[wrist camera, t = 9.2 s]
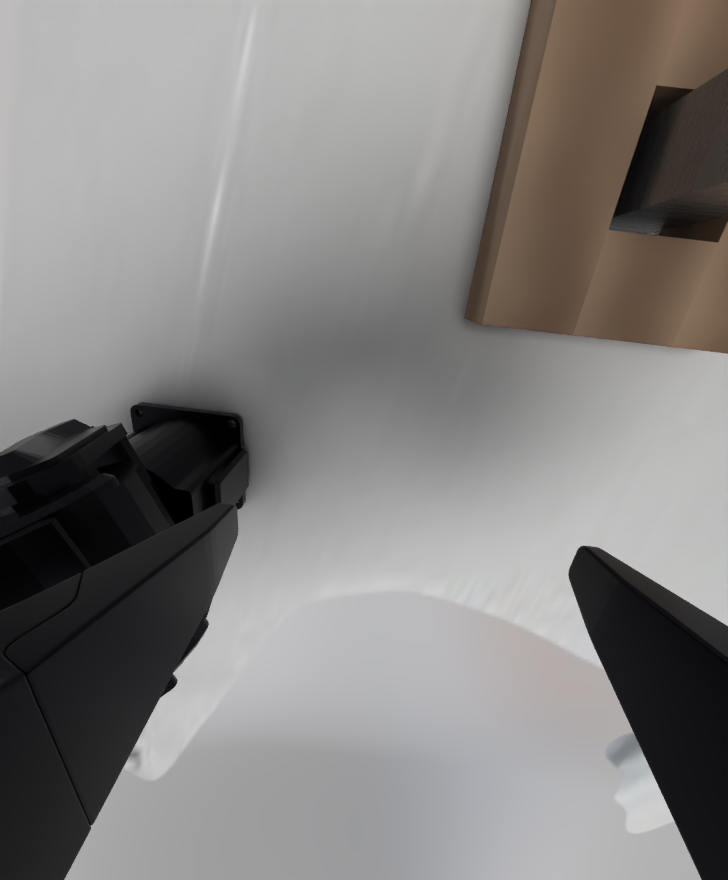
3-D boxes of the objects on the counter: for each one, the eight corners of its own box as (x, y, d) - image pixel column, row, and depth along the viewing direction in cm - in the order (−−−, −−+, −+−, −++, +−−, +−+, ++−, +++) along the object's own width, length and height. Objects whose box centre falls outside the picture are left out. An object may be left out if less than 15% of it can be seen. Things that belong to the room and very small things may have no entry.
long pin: (581, 226, 16) (832, 149, 7) (604, 147, 15) (941, -69, 6) (645, 233, 16) (980, 163, 7) (674, 153, 15) (1121, -54, 6)
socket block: (464, 318, 18) (481, 324, 15) (534, -12, 13) (581, -107, 10) (696, 345, 18) (763, 357, 15) (849, 23, 13) (996, -61, 10)
